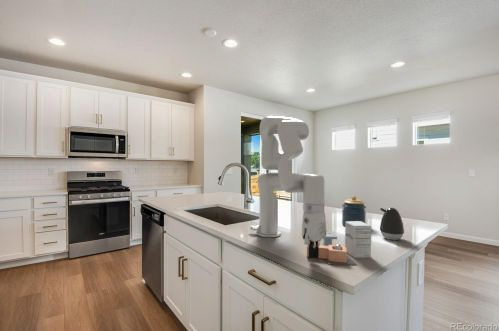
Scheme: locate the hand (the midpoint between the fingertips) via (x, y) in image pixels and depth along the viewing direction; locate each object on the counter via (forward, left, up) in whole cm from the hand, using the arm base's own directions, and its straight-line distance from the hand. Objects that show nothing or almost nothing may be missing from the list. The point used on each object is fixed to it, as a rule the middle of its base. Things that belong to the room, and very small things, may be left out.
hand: (313, 257), depth 90 cm
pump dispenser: (+45, +31, -2) cm, 55 cm away
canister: (+36, +55, -2) cm, 66 cm away
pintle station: (+10, +3, -2) cm, 11 cm away
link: (+6, +5, -2) cm, 8 cm away
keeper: (+10, +15, -2) cm, 18 cm away
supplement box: (+20, +9, -2) cm, 22 cm away
